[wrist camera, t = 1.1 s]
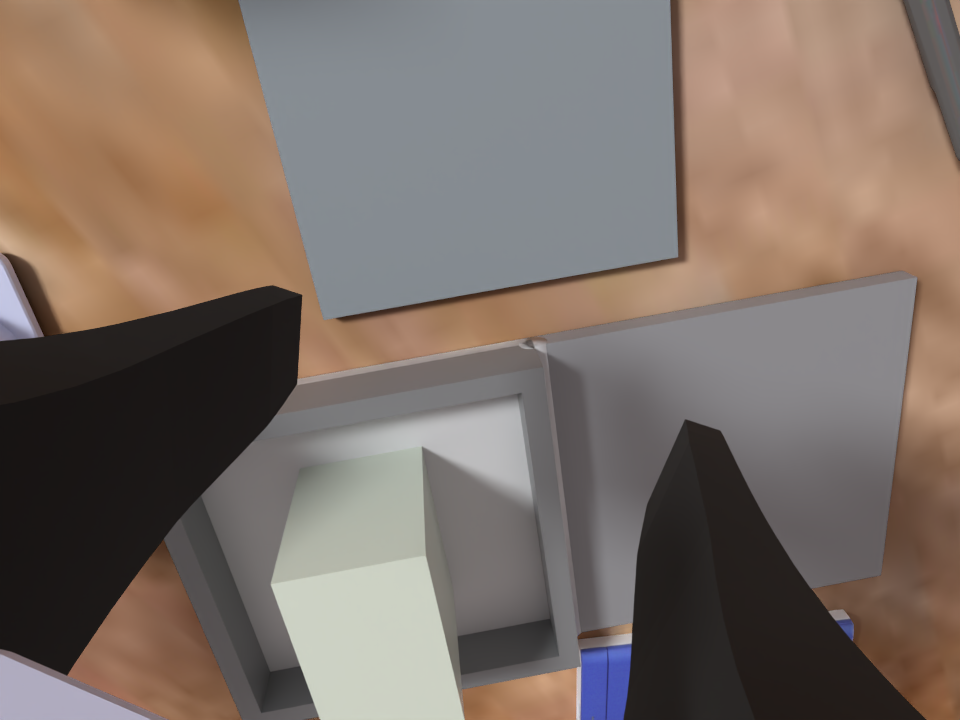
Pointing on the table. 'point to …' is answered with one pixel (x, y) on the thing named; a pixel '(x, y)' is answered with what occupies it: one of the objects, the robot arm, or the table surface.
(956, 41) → the walkie-talkie
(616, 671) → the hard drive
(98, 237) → the table surface
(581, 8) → the slate mat
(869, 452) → the equipment case
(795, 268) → the table surface
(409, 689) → the block
